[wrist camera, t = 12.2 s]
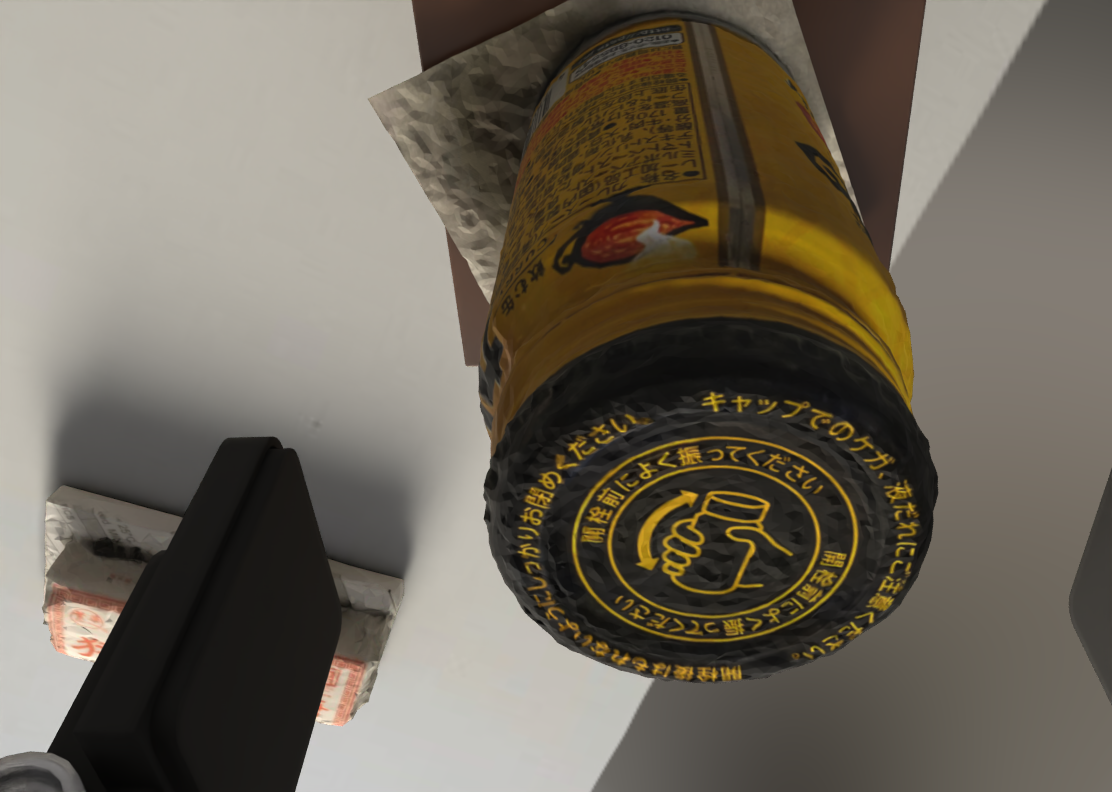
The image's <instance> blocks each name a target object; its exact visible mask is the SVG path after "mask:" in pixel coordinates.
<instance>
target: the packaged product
mask: <svg viewBox="0 0 1112 792" xmlns="http://www.w3.org/2000/svg"><path fill="white" fill-rule="evenodd" d="M182 519H183V517H179V516H175V515H172V514H168V513H164V512H160V511H157V510H153V509H149V508H146V507H142V506H138V505H135V504H131V503H127V502H124V501H120V500H116V499H112V498H109V497H105V496H101V495H98V494H94V493H90V492H87V491H83V490H79V489H75V488H72V487H68V486H64V485H62V486H61V487H60V488H59V489H58V490H57V491H55V492H54V493H53V494H52V495H51V496H50V497H49V498H48V499H46V514H45V526H46V533H45V557H46V566H45V584H44V605H43V607H42V610H43V613H44V623H43V624H46V625H48V626H49V631H50V633H51V635H52V636H51V637H50V638H51V639H50V641H51V643H52V644H53V646H54V648H55V649H56V651H58V652H60V653H63V654H66V655H69V656H71V657H75V658H80V659H83V660H87V661H91V662H93V663H95V661H96V659H97V657H98V655H99V653H100V651H101V649H102V648H103V646H104V644H105V642H106V640H107V638H108V636H109V634H110V632H111V631H112V629H113V627H114V625H115V623H116V621H117V619H118V617H119V615H120V614H121V612H122V610H123V608H124V606H125V604H126V602H127V600H128V598H129V597H130V595H131V593H132V591H133V589H134V587H135V585H136V583H137V582H138V580H139V578H140V576H141V574H142V572H143V570H144V568H145V566H146V565H147V564H148V562H149V561H150V559H151V558H152V556H153V555H155V554H156V553H158V552H159V551H161V550H167V548H168V546H169V544H170V542H171V540H172V538H173V536H174V534H175V532H176V530H177V528H178V526H179V524H180V523H181V521H182ZM328 562H329V565H330V569H331V572H332V576H333V579H334V582H335V586H336V589H337V593H338V596H339V600H340V604H341V610H342V625H341V632H340V637H339V640H338V644H337V647H336V651H335V654H334V658H333V661H332V664H331V668H330V671H329V675H328V678H327V682H326V685H325V689H324V692H323V696H322V699H321V703H320V706H319V710H318V713H317V717H316V720H315V721H317V722H319V723H325V724H326V725H338V726H343V725H344V724H346V723H347V722H348V721H349V720H351V719H353V717H354V715H355V713H356V712H357V710H358V709H360V708H361V706H362V705H364V704H365V703H367V702H368V701H369V697H370V694H371V691H372V688H373V685H374V683H375V680H376V677H377V668H378V665H379V662H380V660H381V657H382V654H383V651H384V648H385V645H386V642H387V639H388V636H389V633H390V631H391V628H392V625H393V622H394V620H395V617H396V614H397V612H398V609H399V606H400V604H401V601H402V598H403V596H404V582H403V580H402V579H399V578H395V577H391V576H387V575H383V574H379V573H376V572H372V571H368V570H364V569H360V568H357V567H353V566H349V565H346V564H343V563H340V562H337V561H334V560H330V559H328Z"/></svg>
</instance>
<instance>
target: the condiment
mask: <svg viewBox="0 0 1112 792" xmlns="http://www.w3.org/2000/svg"><path fill="white" fill-rule="evenodd" d="M368 100H369V102H370V104H371V105H372V107H373V108H374V110H375V112H376V113H377V115H378V116H379V118H380V120H381V122H382V124H383V125H384V127H385V129H386V130H387V131H388V132H389V134H390V135H391V137H392V138H393V140H394V141H395V142H396V144H397V146H398V148H399V150H400V152H401V153H402V155H403V157H404V158H405V160H406V161H407V163H408V165H409V166H410V168H411V170H412V172H413V173H414V175H415V176H416V178H417V180H418V182H419V184H420V185H421V187H422V189H423V190H424V192H425V194H426V195H427V197H428V199H429V200H430V202H431V203H432V205H433V206H434V208H435V210H436V211H437V213H438V215H439V216H440V218H441V220H442V221H443V223H444V225H445V227H446V229H447V230H448V232H449V234H450V236H451V238H452V239H453V241H454V243H455V244H456V246H457V248H458V250H459V251H460V253H461V255H462V256H463V257H464V258H465V259H466V260H467V261H468V265H469V267H470V269H471V272H472V273H473V275H474V277H475V279H476V281H477V283H478V285H479V287H480V288H481V289H482V291H483V294H484V295H485V297H486V299H487V301H488V302H489V304H490V308H489V312H488V315H487V320H486V326H485V332H484V335H483V338H482V340H481V352H480V362H479V396H480V400H481V402H480V408H481V412H482V414H483V416H484V422H485V425H486V429H487V431H488V434H489V437H490V439H491V459H490V469H489V471H488V472H487V475H486V479H485V483H484V494H483V496H484V499H485V501H486V509H485V515H484V520H485V522H486V524H487V529H488V533H489V545H490V549H491V552H492V556H493V558H494V559H495V561H496V563H497V566H498V569H499V571H500V573H501V575H502V577H503V580H504V582H505V584H506V585H507V586H508V587H509V589H510V590H511V591H512V592H513V593H514V595H515V596H516V598H517V600H518V602H519V604H520V606H521V608H522V609H523V610H524V612H525V613H526V614H527V615H528V616H529V617H530V618H531V619H532V620H534V621H535V622H536V623H537V624H538V625H539V626H541V627H542V628H543V629H544V630H545V631H546V632H548V633H549V634H550V635H551V636H552V637H553V638H554V639H555V640H556V641H557V643H559V644H561V645H563V646H565V647H567V648H568V649H569V650H571V651H574V652H577V653H580V654H582V655H584V656H587V657H589V658H591V659H593V660H596V661H598V662H600V663H603V664H605V665H608V666H611V667H613V668H616V669H618V670H620V671H626V672H630V673H634V674H638V675H641V676H643V677H647V678H658V679H660V680H664V681H680V682H692V683H726V682H738V681H746V680H752V679H759V678H768V677H770V676H771V675H773V674H777V673H781V672H784V671H786V670H789V669H792V668H795V667H799V666H801V665H804V664H807V663H811V662H813V661H815V660H816V659H818V658H820V657H825V656H830V655H832V654H834V653H836V652H837V651H839V650H840V649H842V648H843V647H844V646H846V645H847V644H848V643H850V642H851V641H852V640H854V639H855V638H856V637H858V636H859V635H861V634H862V633H863V632H865V631H866V630H868V629H870V628H871V627H873V626H875V625H877V624H878V623H880V622H881V621H883V620H884V619H886V618H887V617H888V616H889V615H890V614H891V613H892V612H893V611H894V610H895V609H896V608H897V607H898V606H899V605H900V604H901V602H902V600H903V599H904V597H905V596H906V594H907V593H908V591H909V590H910V588H911V587H912V585H913V583H914V582H915V580H916V579H917V577H918V574H919V571H920V568H921V565H922V563H923V561H924V558H925V556H926V554H927V551H928V548H929V544H930V542H931V536H932V529H933V510H934V507H935V503H936V500H937V496H938V487H937V486H938V485H937V484H938V476H937V472H936V469H935V466H934V464H933V462H932V459H931V456H930V452H929V448H930V446H929V442H928V439H927V438H926V437H925V436H924V434H923V433H922V431H921V430H920V428H919V427H918V425H917V423H916V421H915V418H914V416H913V413H912V409H911V404H910V402H911V399H912V391H913V378H914V370H913V358H912V349H911V340H910V331H909V327H908V323H907V318H906V313H905V310H904V308H903V306H902V304H901V302H900V300H899V297H898V296H897V295H896V290H895V285H894V283H893V279H892V277H891V275H890V273H889V271H888V270H887V269H886V268H885V267H884V265H883V264H882V263H881V262H880V261H879V258H878V256H877V254H876V252H875V250H874V247H873V243H872V240H871V237H870V235H869V232H868V230H867V229H866V227H865V226H864V223H863V219H862V216H861V213H860V210H859V207H858V204H857V201H856V198H855V195H854V190H853V188H852V186H851V183H850V179H849V176H848V173H847V170H846V167H845V164H844V162H843V158H842V155H841V152H840V149H839V146H838V143H837V140H836V137H835V134H834V130H833V127H832V124H831V121H830V118H829V115H828V112H827V109H826V106H825V103H824V100H823V97H822V93H821V90H820V87H819V84H818V81H817V78H816V75H815V72H814V69H813V65H812V62H811V59H810V56H809V53H808V50H807V47H806V44H805V41H804V38H803V34H802V31H801V28H800V25H799V22H798V19H797V16H796V12H795V9H794V6H793V2H792V0H568V1H566V2H564V3H562V4H560V5H559V6H557V7H555V8H553V9H550V10H547V11H545V12H544V13H542V14H540V15H538V16H536V17H534V18H533V19H531V20H529V21H527V22H525V23H523V24H521V25H519V26H517V27H515V28H513V29H511V30H510V31H508V32H505V33H502V34H500V35H497V36H495V37H493V38H491V39H489V40H487V41H485V42H483V43H481V44H479V45H477V46H475V47H473V48H470V49H468V50H466V51H464V52H462V53H460V54H457V55H455V56H453V57H451V58H449V59H447V60H445V61H444V62H441V63H439V64H437V65H435V66H434V67H432V68H430V69H428V70H426V71H424V72H422V73H421V74H419V75H417V76H415V77H413V78H411V79H409V80H407V81H404V82H402V83H400V84H398V85H396V86H393V87H391V88H389V89H387V90H385V91H383V92H381V93H379V94H377V95H375V96H373V97H371V98H369V99H368Z"/></svg>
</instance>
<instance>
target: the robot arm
mask: <svg viewBox="0 0 1112 792" xmlns="http://www.w3.org/2000/svg"><path fill="white" fill-rule="evenodd" d="M1069 612H1070V617H1071V621H1072V624H1073V626H1074V629H1075V631H1076V633H1077V635H1078V637H1079V639H1080V641H1081V643H1082V645H1083V647H1084V649H1085V651H1086V653H1087V656H1088V658H1089V660H1090V662H1091V664H1092V666H1093V668H1094V670H1095V672H1096V674H1097V676H1098V678H1099V680H1100V682H1101V684H1102V686H1103V688H1104V690H1105V692H1106V694H1107V696H1108V699H1109V700H1110V702H1111V705H1112V469H1111V472H1110V475H1109V478H1108V481H1107V484H1106V487H1105V490H1104V493H1103V496H1102V499H1101V502H1100V505H1099V508H1098V511H1097V514H1096V517H1095V520H1094V523H1093V526H1092V529H1091V532H1090V535H1089V538H1088V541H1087V544H1086V547H1085V550H1084V553H1083V556H1082V559H1081V562H1080V565H1079V568H1078V571H1077V574H1076V577H1075V580H1074V583H1073V586H1072V589H1071V592H1070V596H1069ZM341 625H342V610H341V604H340V600H339V596H338V593H337V589H336V586H335V582H334V579H333V576H332V572H331V569H330V565H329V562H328V558H327V555H326V551H325V548H324V544H323V541H322V538H321V534H320V531H319V527H318V524H317V520H316V517H315V513H314V510H313V506H312V503H311V500H310V496H309V493H308V489H307V486H306V482H305V479H304V475H303V472H302V468H301V465H300V462H299V458H298V456H297V453H296V452H295V450H294V449H291V448H284V449H283V447H282V444H281V442H280V441H279V440H278V439H277V438H276V437H239V438H227V439H225V440H224V441H223V442H222V444H221V445H220V447H219V449H218V451H217V453H216V455H215V457H214V459H213V461H212V462H211V464H210V466H209V468H208V470H207V472H206V474H205V476H204V478H203V480H202V482H201V484H200V486H199V488H198V490H197V492H196V493H195V495H194V497H193V499H192V501H191V503H190V505H189V507H188V509H187V511H186V513H185V515H184V517H183V519H182V521H181V523H180V524H179V526H178V528H177V530H176V532H175V534H174V536H173V538H172V540H171V542H170V544H169V546H168V548H167V550H161V551H159V552H158V553H156V554H155V555H153V556H152V558H151V559H150V561H149V562H148V564H147V565H146V566H145V568H144V570H143V572H142V574H141V576H140V578H139V580H138V582H137V583H136V585H135V587H134V589H133V591H132V593H131V595H130V597H129V598H128V600H127V602H126V604H125V606H124V608H123V610H122V612H121V614H120V615H119V617H118V619H117V621H116V623H115V625H114V627H113V629H112V631H111V632H110V634H109V636H108V638H107V640H106V642H105V644H104V646H103V648H102V649H101V651H100V653H99V655H98V657H97V659H96V661H95V663H94V665H93V666H92V668H91V670H90V672H89V674H88V676H87V678H86V680H85V681H84V683H83V685H82V687H81V689H80V691H79V693H78V695H77V697H76V698H75V700H74V702H73V704H72V706H71V708H70V710H69V712H68V714H67V715H66V717H65V719H64V721H63V723H62V725H61V727H60V729H59V731H58V732H57V734H56V736H55V738H54V740H53V742H52V744H51V746H50V748H49V749H48V751H47V753H44V752H31V751H30V752H25V753H20V754H15V755H10V756H6V757H3V758H1V759H0V792H295V790H296V786H297V783H298V779H299V776H300V772H301V769H302V765H303V762H304V758H305V755H306V751H307V748H308V745H309V741H310V738H311V734H312V731H313V727H314V724H315V720H316V717H317V713H318V710H319V706H320V703H321V699H322V696H323V692H324V689H325V685H326V682H327V678H328V675H329V671H330V668H331V664H332V661H333V658H334V654H335V651H336V647H337V644H338V640H339V637H340V632H341Z"/></svg>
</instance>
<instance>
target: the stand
mask: <svg viewBox="0 0 1112 792" xmlns="http://www.w3.org/2000/svg"><path fill="white" fill-rule="evenodd" d="M566 1H568V0H412V5H413V12H414V19H415V25H416V32H417V39H418V46H419V52H420V59H421V66H422V72H424V71H426V70H428V69H430V68H432V67H434V66H435V65H437V64H439V63H441V62H444V61H445V60H447V59H449V58H451V57H453V56H455V55H457V54H460V53H462V52H464V51H466V50H468V49H470V48H473V47H475V46H477V45H479V44H481V43H483V42H485V41H487V40H489V39H491V38H493V37H495V36H497V35H500V34H502V33H505V32H508V31H510V30H511V29H513V28H515V27H517V26H519V25H521V24H523V23H525V22H527V21H529V20H531V19H533V18H534V17H536V16H538V15H540V14H542V13H544V12H545V11H547V10H550V9H553V8H555V7H557V6H559V5H560V4H562V3H564V2H566ZM792 2H793V6H794V9H795V12H796V16H797V19H798V22H799V25H800V28H801V31H802V34H803V38H804V41H805V44H806V47H807V50H808V53H809V56H810V59H811V62H812V65H813V69H814V72H815V75H816V78H817V81H818V84H819V87H820V90H821V93H822V97H823V100H824V103H825V106H826V109H827V112H828V115H829V118H830V121H831V124H832V127H833V130H834V134H835V137H836V140H837V143H838V146H839V149H840V152H841V155H842V158H843V162H844V164H845V167H846V170H847V173H848V176H849V179H850V183H851V186H852V188H853V190H854V195H855V198H856V201H857V204H858V207H859V210H860V213H861V216H862V219H863V223H864V226H865V227H866V229H867V230H868V232H869V235H870V237H871V240H872V243H873V247H874V250H875V252H876V254H877V256H878V258H879V261H880V262H881V263H882V264H883V265H884V267H885V268H886V269H887V270H888V271H889V268H890V260H891V253H892V246H893V238H894V231H895V224H896V217H897V209H898V202H899V195H900V187H901V180H902V173H903V165H904V158H905V151H906V144H907V136H908V129H909V122H910V114H911V107H912V100H913V92H914V85H915V78H916V71H917V63H918V56H919V49H920V41H921V34H922V27H923V19H924V12H925V5H926V0H792ZM445 229H446V227H445ZM446 235H447V242H448V249H449V256H450V262H451V269H452V276H453V283H454V290H455V296H456V303H457V310H458V317H459V323H460V330H461V337H462V344H463V351H464V357H465V364H466V366H467V367H473V366H479V362H480V352H481V340H482V338H483V335H484V332H485V326H486V320H487V315H488V312H489V308H490V304H489V302H488V301H487V299H486V297H485V295H484V294H483V291H482V289H481V288H480V287H479V285H478V283H477V281H476V279H475V277H474V275H473V273H472V272H471V269H470V267H469V265H468V261H467V260H466V259H465V258H464V257H463V256H462V255H461V253H460V251H459V250H458V248H457V246H456V244H455V243H454V241H453V239H452V238H451V236H450V234H449V232H448V230H447V229H446Z"/></svg>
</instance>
